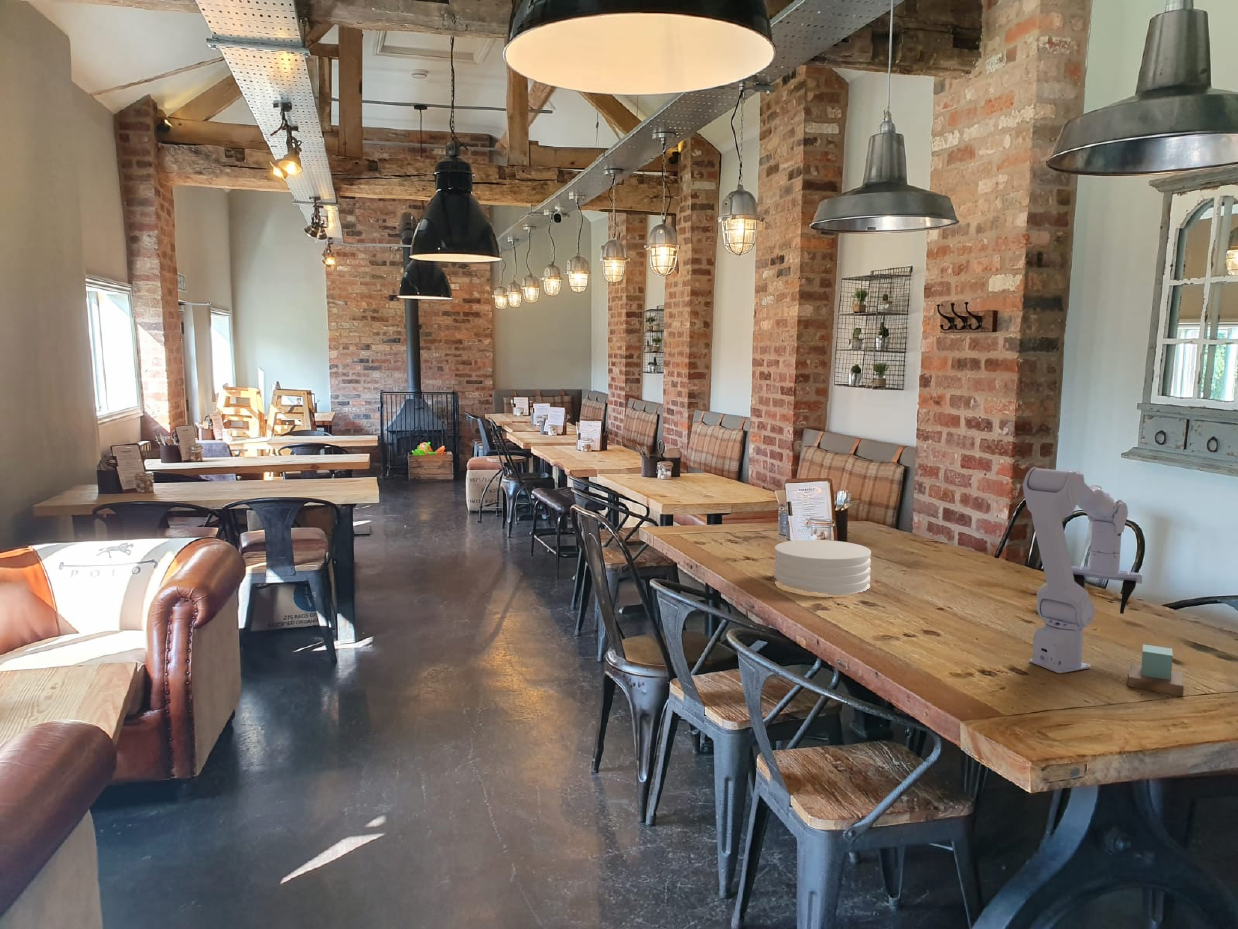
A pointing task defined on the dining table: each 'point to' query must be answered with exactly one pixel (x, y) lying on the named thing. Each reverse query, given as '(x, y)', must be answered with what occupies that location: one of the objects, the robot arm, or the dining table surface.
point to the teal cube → (1157, 662)
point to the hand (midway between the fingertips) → (1101, 610)
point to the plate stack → (823, 566)
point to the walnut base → (1156, 681)
